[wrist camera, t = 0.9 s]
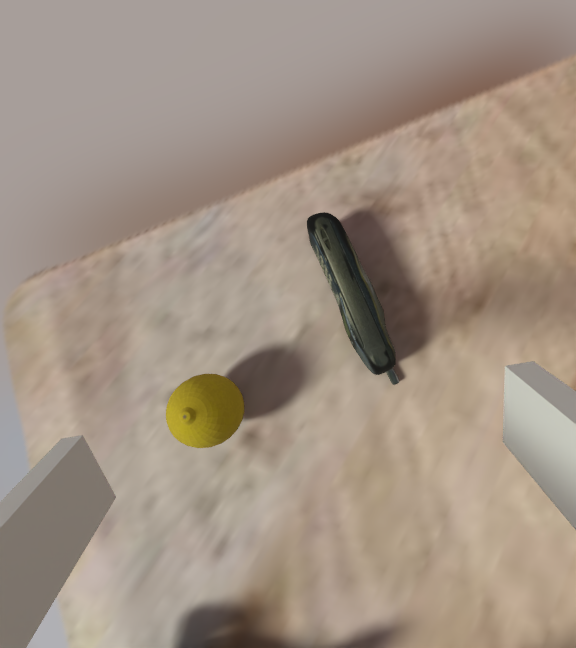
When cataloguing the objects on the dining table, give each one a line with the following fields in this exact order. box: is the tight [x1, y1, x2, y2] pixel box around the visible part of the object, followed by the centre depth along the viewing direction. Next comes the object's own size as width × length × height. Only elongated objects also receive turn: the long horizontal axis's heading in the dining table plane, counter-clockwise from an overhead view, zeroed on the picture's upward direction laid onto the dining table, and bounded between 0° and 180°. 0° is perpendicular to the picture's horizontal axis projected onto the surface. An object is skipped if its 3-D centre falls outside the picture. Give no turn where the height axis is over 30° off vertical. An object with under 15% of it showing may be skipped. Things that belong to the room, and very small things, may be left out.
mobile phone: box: [307, 213, 399, 385], centre depth 27 cm, size 5×3×15 cm
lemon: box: [166, 374, 244, 448], centre depth 26 cm, size 6×6×8 cm
